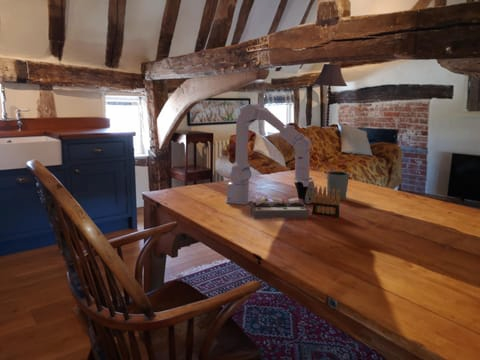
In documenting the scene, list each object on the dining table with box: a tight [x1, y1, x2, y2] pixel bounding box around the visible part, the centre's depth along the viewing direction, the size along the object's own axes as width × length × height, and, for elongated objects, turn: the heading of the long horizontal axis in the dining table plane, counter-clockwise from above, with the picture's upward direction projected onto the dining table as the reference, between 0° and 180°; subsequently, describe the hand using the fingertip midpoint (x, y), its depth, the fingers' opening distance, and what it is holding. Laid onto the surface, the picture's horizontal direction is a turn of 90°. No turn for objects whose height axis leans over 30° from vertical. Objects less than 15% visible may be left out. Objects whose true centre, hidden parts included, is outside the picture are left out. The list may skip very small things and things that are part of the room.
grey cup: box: [326, 170, 350, 201], centre depth 172 cm, size 10×10×12 cm
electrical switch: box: [302, 180, 316, 205], centre depth 166 cm, size 9×5×9 cm, turn 141°
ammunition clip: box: [311, 185, 341, 219], centre depth 146 cm, size 11×2×12 cm, turn 70°
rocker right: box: [287, 196, 303, 204], centre depth 151 cm, size 5×3×2 cm, turn 93°
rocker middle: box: [271, 196, 287, 204], centre depth 150 cm, size 5×3×2 cm, turn 96°
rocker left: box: [254, 196, 270, 205], centre depth 150 cm, size 5×3×2 cm, turn 92°
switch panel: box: [250, 201, 310, 219], centre depth 149 cm, size 22×12×4 cm, turn 94°
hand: (301, 199), depth 151 cm, fingers closed, pressing on rocker right
